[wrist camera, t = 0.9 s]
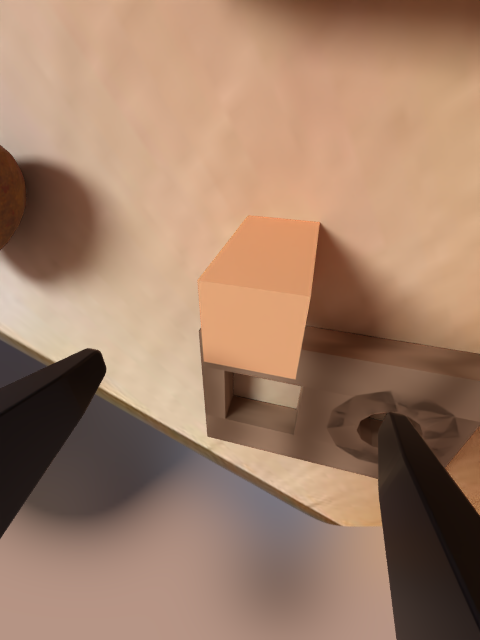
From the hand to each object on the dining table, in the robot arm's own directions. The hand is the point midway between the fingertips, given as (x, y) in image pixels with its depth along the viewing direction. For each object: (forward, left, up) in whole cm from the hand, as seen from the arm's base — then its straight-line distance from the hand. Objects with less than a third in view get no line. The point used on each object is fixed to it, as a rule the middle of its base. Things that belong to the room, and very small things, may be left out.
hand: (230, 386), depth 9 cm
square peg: (0, 0, -11) cm, 11 cm away
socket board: (-4, +11, -11) cm, 16 cm away
